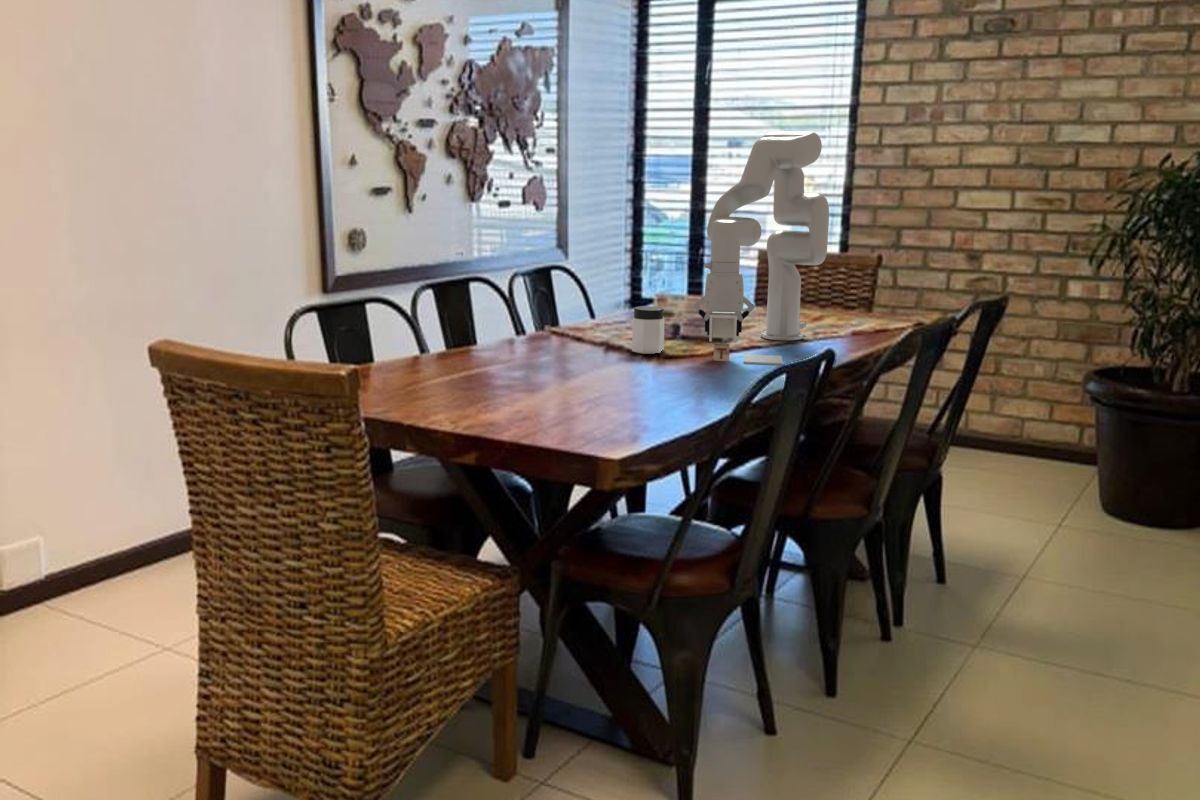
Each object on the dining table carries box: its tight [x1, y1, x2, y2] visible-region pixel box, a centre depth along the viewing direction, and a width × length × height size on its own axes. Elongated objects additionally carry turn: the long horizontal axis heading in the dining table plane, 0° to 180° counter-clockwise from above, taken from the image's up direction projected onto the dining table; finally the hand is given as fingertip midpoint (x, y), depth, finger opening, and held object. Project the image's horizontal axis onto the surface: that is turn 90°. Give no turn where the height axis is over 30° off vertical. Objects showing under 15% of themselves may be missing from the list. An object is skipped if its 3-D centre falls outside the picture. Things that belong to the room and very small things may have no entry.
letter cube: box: [713, 343, 730, 362], centre depth 273 cm, size 4×4×4 cm
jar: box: [631, 305, 666, 355], centre depth 282 cm, size 9×8×12 cm
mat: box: [743, 354, 784, 366], centre depth 272 cm, size 10×10×1 cm
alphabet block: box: [708, 312, 738, 343], centre depth 272 cm, size 7×7×7 cm
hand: (723, 334), depth 272 cm, fingers closed on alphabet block, 7 cm apart
